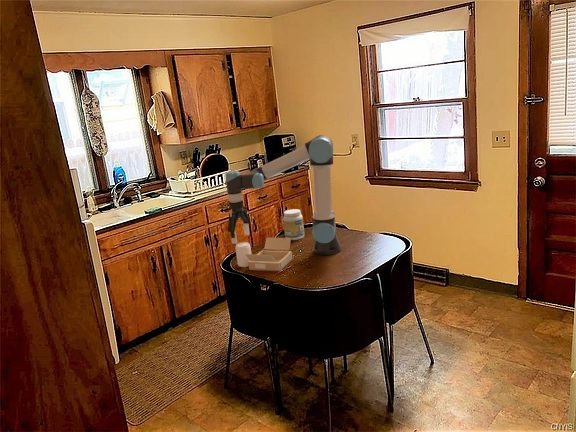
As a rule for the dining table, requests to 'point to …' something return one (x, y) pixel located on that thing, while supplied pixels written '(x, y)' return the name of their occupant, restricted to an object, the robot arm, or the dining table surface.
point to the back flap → (277, 243)
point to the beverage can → (243, 253)
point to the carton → (281, 262)
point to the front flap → (260, 257)
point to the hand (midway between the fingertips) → (241, 239)
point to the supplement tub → (293, 224)
